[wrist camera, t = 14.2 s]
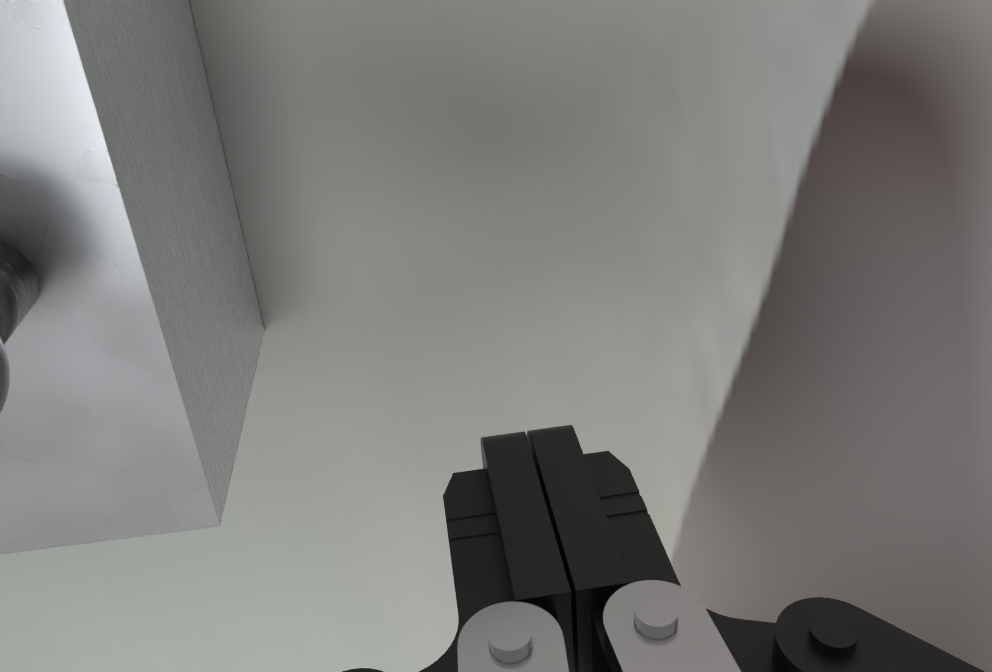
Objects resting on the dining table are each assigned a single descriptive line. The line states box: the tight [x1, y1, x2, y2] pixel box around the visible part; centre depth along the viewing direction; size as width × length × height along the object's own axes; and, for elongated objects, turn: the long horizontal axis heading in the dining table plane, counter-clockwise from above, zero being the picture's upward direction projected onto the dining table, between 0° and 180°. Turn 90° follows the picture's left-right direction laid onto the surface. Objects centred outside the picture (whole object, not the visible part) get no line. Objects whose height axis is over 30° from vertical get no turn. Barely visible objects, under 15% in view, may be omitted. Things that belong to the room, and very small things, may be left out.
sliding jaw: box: [0, 0, 265, 554], centre depth 16 cm, size 6×12×12 cm, turn 4°
